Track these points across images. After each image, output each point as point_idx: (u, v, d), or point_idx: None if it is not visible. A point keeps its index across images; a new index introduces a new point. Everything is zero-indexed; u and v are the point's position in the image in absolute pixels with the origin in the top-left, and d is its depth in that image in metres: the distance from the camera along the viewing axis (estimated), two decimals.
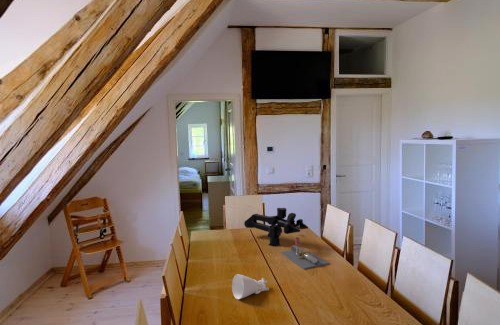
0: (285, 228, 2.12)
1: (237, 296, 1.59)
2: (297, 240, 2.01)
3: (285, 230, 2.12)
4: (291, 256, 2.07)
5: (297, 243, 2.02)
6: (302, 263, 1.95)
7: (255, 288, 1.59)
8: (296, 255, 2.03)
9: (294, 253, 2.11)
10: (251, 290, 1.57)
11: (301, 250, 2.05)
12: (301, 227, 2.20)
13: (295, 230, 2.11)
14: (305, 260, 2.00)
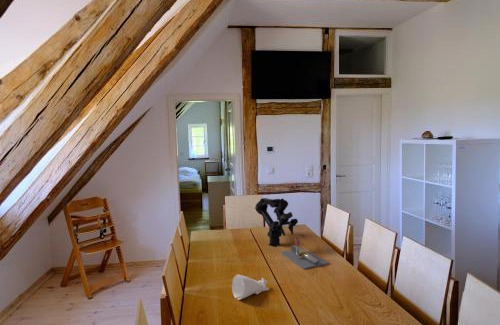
0: (272, 225, 2.13)
1: (237, 296, 1.58)
2: (297, 240, 2.01)
3: (271, 226, 2.14)
4: (291, 256, 2.07)
5: (297, 243, 2.02)
6: (302, 263, 1.95)
7: (255, 288, 1.59)
8: (296, 255, 2.03)
9: (294, 253, 2.11)
10: (251, 290, 1.56)
11: (301, 250, 2.05)
12: (289, 228, 2.17)
13: (281, 232, 2.12)
14: (305, 260, 2.00)
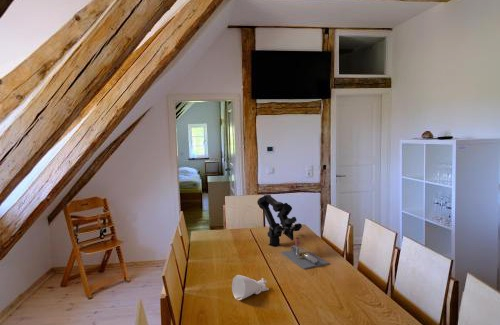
0: (275, 230, 2.08)
1: (237, 297, 1.58)
2: (297, 240, 2.01)
3: (275, 231, 2.09)
4: (291, 256, 2.07)
5: (297, 243, 2.02)
6: (302, 263, 1.95)
7: (255, 288, 1.59)
8: (296, 255, 2.03)
9: (294, 253, 2.11)
10: (252, 290, 1.56)
11: (301, 250, 2.05)
12: None
13: (289, 236, 2.09)
14: (305, 260, 2.00)
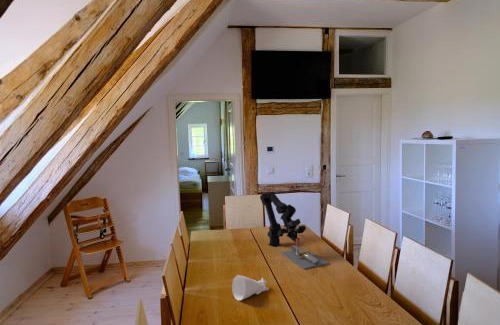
0: (279, 232, 2.04)
1: (238, 297, 1.58)
2: (297, 240, 2.01)
3: (278, 233, 2.05)
4: (291, 256, 2.07)
5: (297, 243, 2.01)
6: (302, 263, 1.95)
7: (256, 288, 1.58)
8: (296, 255, 2.03)
9: (294, 253, 2.11)
10: (252, 291, 1.56)
11: (301, 250, 2.05)
12: None
13: (293, 239, 2.04)
14: (305, 260, 2.00)
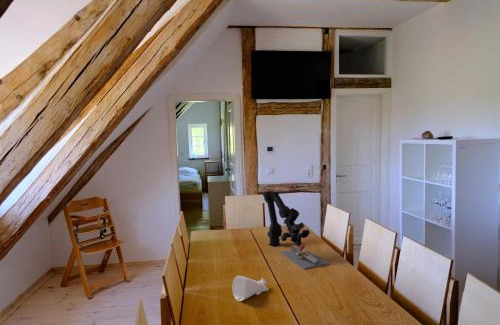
0: (283, 237, 2.00)
1: (238, 298, 1.57)
2: (302, 247, 1.96)
3: (282, 238, 2.01)
4: (291, 256, 2.07)
5: (301, 249, 1.98)
6: (302, 263, 1.95)
7: (256, 289, 1.58)
8: (296, 255, 2.03)
9: (294, 253, 2.11)
10: (253, 291, 1.56)
11: None
12: None
13: (297, 243, 2.00)
14: (305, 260, 2.00)
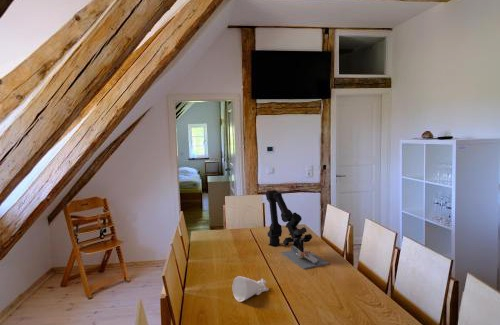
0: (285, 241, 1.98)
1: (238, 298, 1.57)
2: (304, 254, 1.94)
3: (284, 242, 1.99)
4: (291, 256, 2.07)
5: (303, 254, 1.96)
6: (302, 263, 1.95)
7: (256, 289, 1.58)
8: (296, 255, 2.03)
9: (294, 253, 2.11)
10: (253, 291, 1.55)
11: None
12: None
13: (299, 248, 1.98)
14: (305, 260, 2.00)
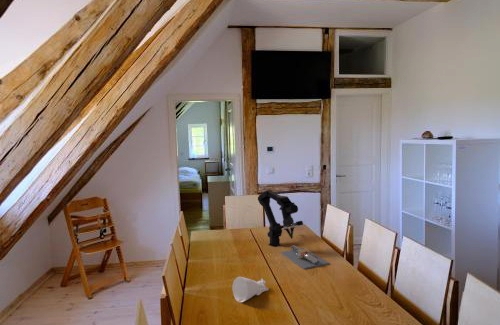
0: None
1: (239, 299, 1.56)
2: (304, 254, 1.94)
3: None
4: (291, 256, 2.07)
5: (303, 254, 1.96)
6: (302, 263, 1.95)
7: (257, 289, 1.58)
8: (296, 255, 2.03)
9: (294, 253, 2.11)
10: (254, 292, 1.55)
11: (301, 250, 2.05)
12: None
13: (289, 234, 2.14)
14: (305, 260, 2.00)
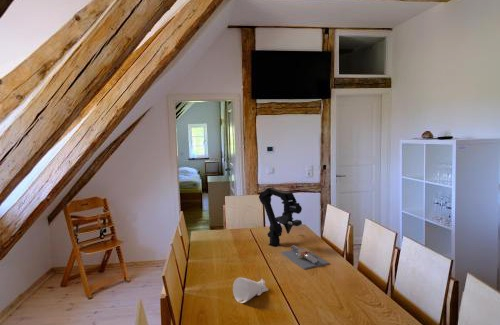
0: None
1: None
2: (304, 254, 1.94)
3: None
4: (291, 256, 2.07)
5: (303, 254, 1.96)
6: (302, 263, 1.95)
7: (257, 290, 1.57)
8: (296, 255, 2.03)
9: (294, 253, 2.11)
10: (254, 292, 1.55)
11: (301, 250, 2.05)
12: None
13: None
14: (305, 260, 2.00)
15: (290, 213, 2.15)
